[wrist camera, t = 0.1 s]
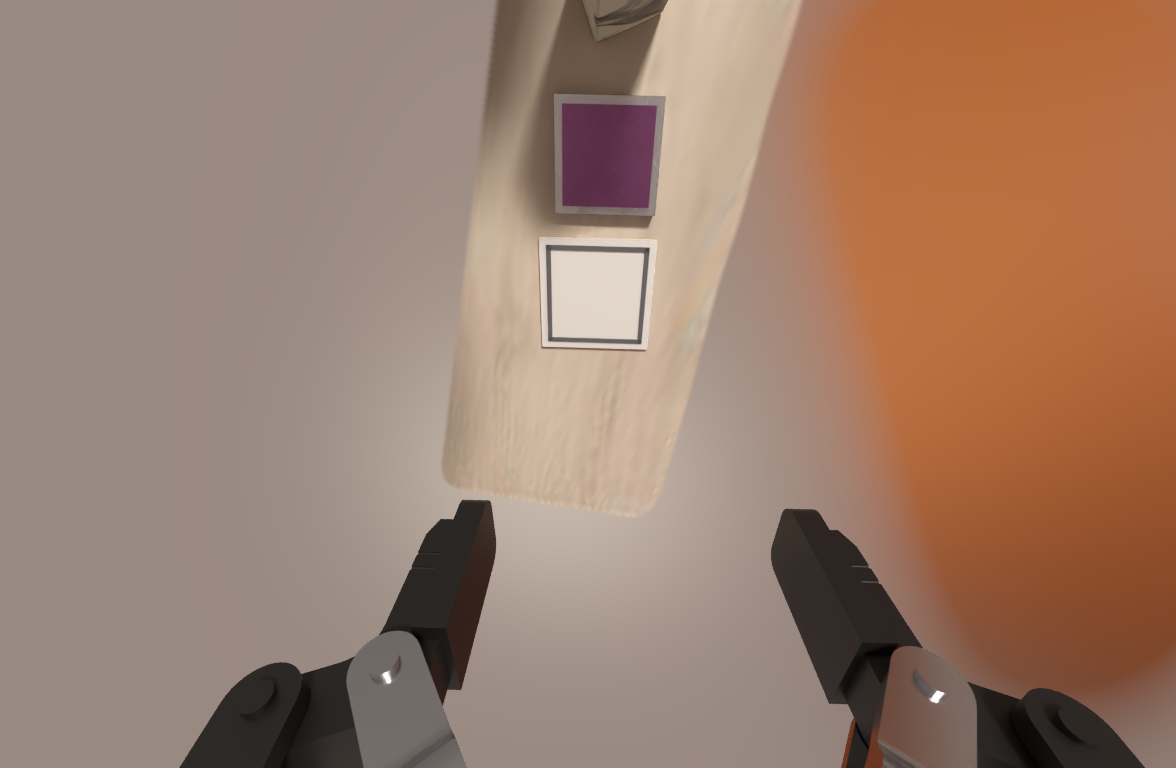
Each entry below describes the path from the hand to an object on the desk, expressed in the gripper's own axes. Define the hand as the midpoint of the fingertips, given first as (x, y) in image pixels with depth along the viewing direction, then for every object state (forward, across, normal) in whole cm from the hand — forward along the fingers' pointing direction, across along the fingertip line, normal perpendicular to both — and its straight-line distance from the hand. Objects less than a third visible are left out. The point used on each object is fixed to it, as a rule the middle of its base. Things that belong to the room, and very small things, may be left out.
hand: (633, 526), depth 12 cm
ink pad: (+29, +1, -9) cm, 30 cm away
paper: (+29, +1, +2) cm, 29 cm away
